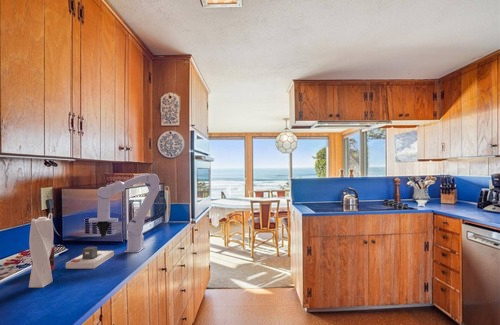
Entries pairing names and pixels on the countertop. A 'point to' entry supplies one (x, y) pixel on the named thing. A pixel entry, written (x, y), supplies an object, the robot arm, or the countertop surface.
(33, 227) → the skyscraper
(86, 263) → the socket plate
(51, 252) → the canned food
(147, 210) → the robot arm
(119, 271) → the countertop surface
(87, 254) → the plug
